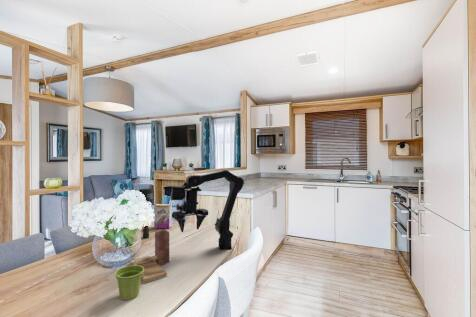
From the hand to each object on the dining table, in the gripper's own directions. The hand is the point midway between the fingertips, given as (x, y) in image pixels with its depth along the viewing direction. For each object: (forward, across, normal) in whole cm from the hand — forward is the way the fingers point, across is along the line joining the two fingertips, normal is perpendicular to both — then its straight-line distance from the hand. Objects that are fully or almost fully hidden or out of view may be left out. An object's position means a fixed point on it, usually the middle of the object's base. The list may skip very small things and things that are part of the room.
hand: (190, 230), depth 121 cm
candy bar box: (+12, -13, -53) cm, 56 cm away
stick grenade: (+12, +5, -41) cm, 43 cm away
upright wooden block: (+13, +19, -1) cm, 23 cm away
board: (+13, +23, +2) cm, 26 cm away
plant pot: (+14, +35, +17) cm, 41 cm away
